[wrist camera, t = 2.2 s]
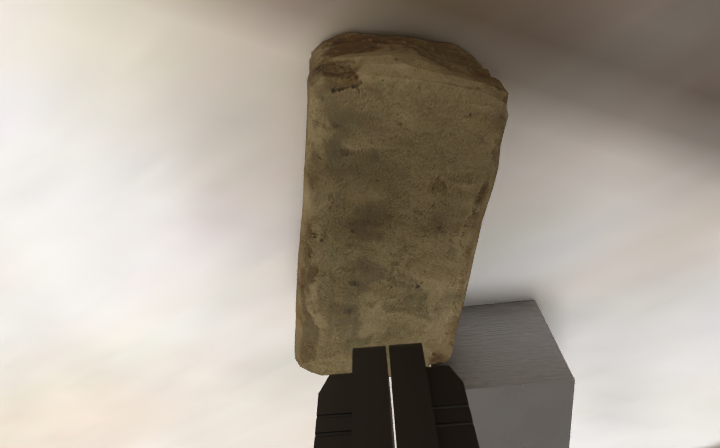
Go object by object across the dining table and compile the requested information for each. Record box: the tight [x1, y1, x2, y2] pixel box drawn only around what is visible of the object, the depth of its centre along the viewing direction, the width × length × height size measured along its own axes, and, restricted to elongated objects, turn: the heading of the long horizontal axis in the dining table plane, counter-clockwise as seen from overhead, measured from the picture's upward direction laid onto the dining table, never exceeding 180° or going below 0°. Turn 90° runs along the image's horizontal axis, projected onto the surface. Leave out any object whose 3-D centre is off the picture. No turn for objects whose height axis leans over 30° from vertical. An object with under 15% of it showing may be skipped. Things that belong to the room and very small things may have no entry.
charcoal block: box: [429, 300, 575, 448], centre depth 22 cm, size 5×5×5 cm
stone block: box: [295, 32, 508, 377], centre depth 19 cm, size 6×12×5 cm, turn 175°
